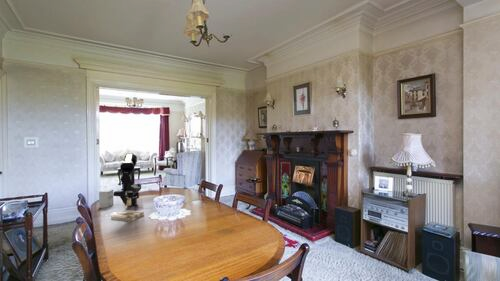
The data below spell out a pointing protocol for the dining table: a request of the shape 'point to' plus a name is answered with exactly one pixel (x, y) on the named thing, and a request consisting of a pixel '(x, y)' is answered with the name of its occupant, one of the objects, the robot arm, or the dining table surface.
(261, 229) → the dining table surface
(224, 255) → the dining table surface
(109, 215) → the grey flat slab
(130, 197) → the gold cylinder
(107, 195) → the supplement box
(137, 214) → the hole deck
